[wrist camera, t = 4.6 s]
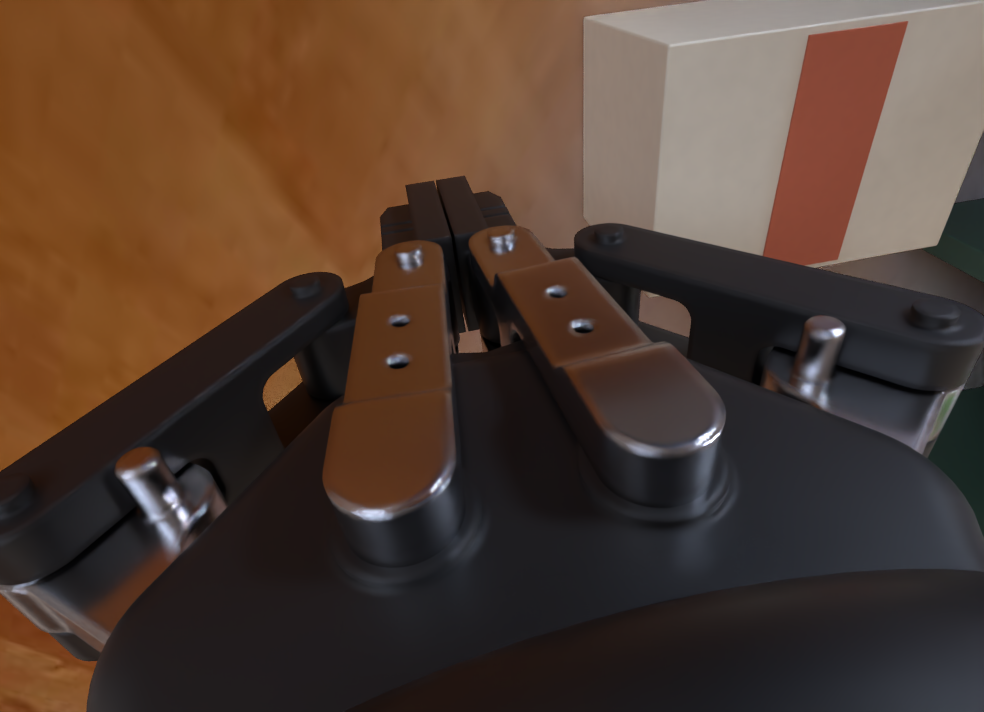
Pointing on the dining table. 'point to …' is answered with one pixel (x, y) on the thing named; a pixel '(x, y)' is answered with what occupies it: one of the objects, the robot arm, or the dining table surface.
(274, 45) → the dining table surface
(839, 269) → the dining table surface
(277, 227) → the dining table surface
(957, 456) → the cabinet
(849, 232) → the carton
